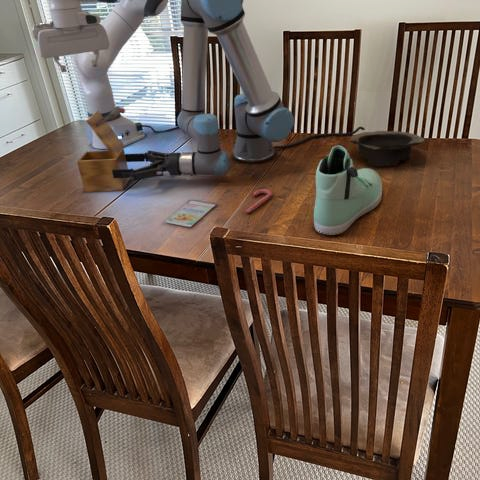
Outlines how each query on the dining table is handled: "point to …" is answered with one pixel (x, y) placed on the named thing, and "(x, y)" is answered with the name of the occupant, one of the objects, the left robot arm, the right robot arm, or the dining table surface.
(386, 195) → the dining table surface
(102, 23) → the left robot arm
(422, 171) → the dining table surface
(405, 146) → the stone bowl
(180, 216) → the baking ingredient package
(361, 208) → the sneaker
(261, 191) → the candy cane
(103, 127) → the lid
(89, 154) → the chest
